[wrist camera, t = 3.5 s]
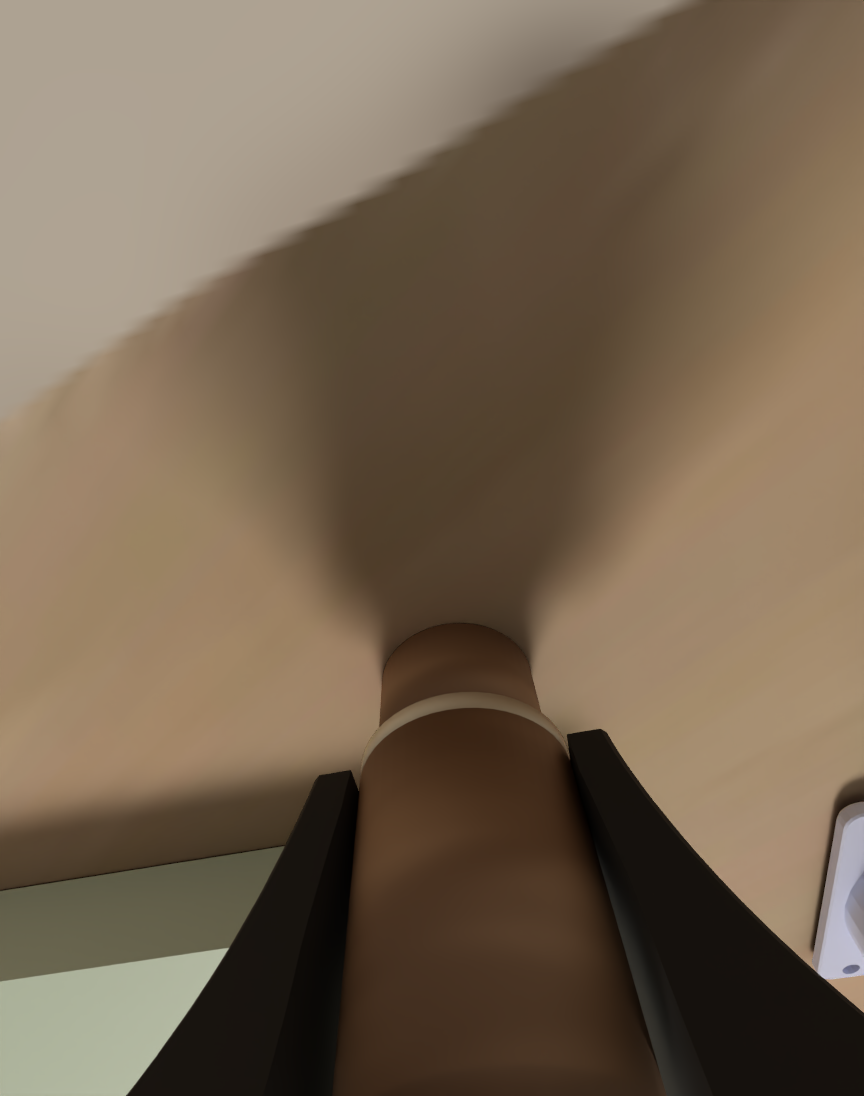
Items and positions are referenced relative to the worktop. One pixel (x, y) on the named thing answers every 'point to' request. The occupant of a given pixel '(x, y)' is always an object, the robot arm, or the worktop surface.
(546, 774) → the walnut leg
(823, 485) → the worktop surface
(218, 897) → the socket board
